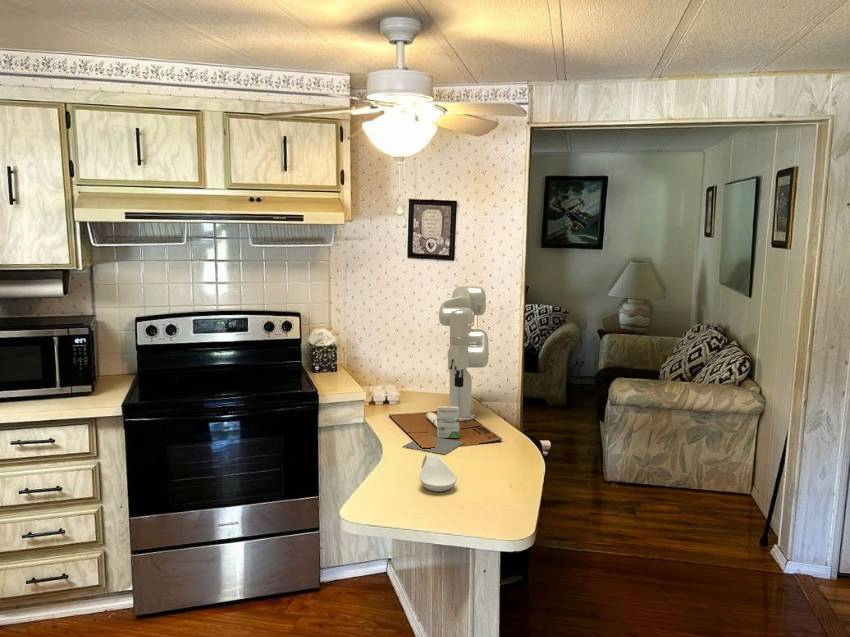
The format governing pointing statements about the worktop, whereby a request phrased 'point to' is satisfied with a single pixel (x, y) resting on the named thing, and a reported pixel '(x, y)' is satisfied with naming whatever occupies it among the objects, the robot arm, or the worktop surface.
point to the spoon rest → (436, 474)
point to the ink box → (447, 422)
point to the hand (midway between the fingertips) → (458, 386)
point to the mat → (438, 446)
